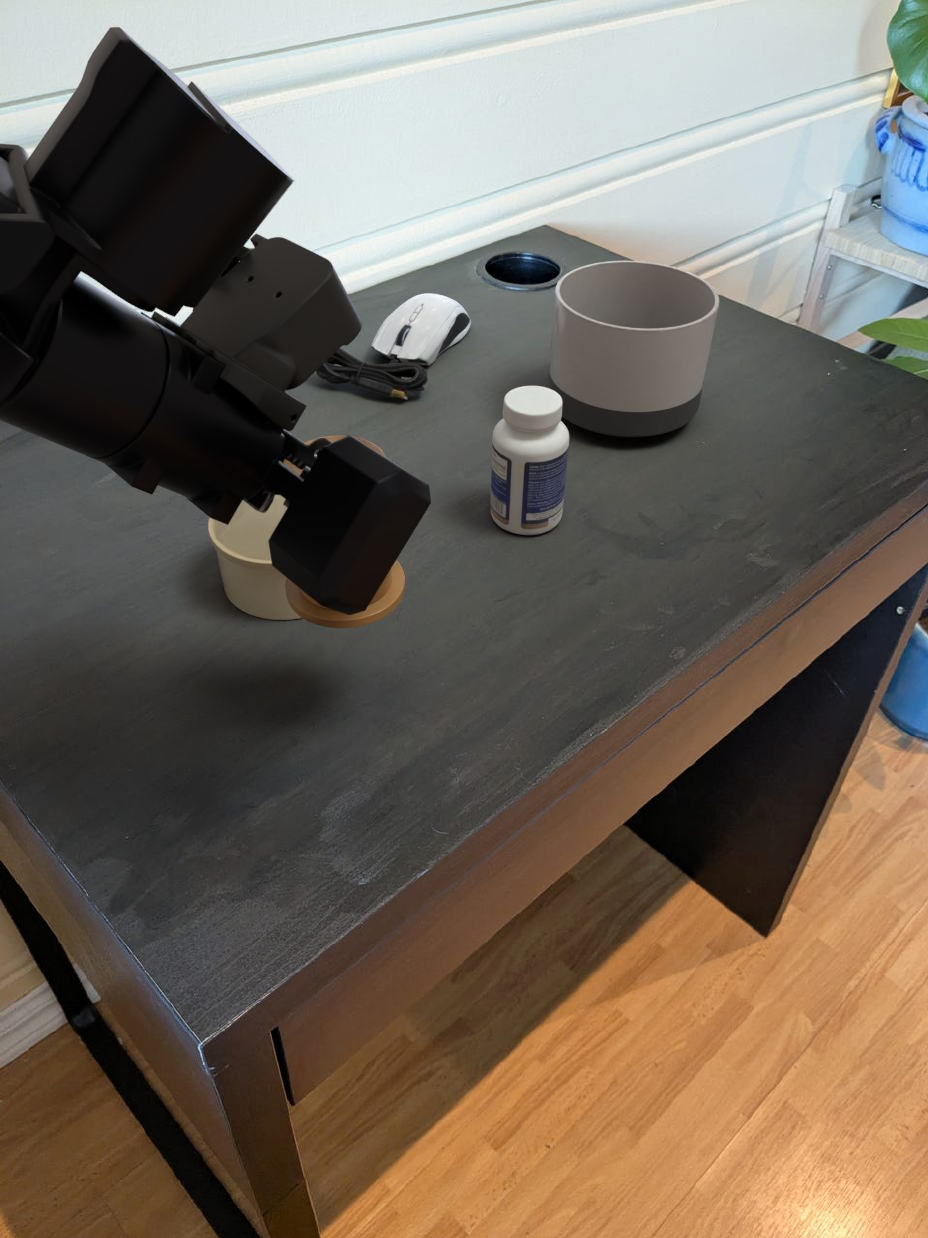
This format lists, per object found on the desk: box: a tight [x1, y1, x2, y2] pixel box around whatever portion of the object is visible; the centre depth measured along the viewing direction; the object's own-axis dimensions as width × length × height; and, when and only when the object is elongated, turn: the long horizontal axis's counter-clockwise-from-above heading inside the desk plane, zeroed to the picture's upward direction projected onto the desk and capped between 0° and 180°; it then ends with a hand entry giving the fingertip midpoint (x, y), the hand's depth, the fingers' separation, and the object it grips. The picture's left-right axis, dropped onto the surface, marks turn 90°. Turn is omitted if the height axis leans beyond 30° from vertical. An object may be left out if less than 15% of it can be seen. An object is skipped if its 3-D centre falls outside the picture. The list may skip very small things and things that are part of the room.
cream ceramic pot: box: [207, 495, 303, 621], centre depth 64 cm, size 9×9×5 cm
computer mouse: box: [315, 292, 472, 401], centre depth 89 cm, size 10×18×4 cm, turn 156°
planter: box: [547, 260, 720, 438], centre depth 79 cm, size 13×13×10 cm
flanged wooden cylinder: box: [283, 435, 406, 629], centre depth 49 cm, size 6×6×8 cm
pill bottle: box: [490, 385, 570, 536], centre depth 68 cm, size 5×5×10 cm
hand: (361, 509), depth 49 cm, fingers closed on flanged wooden cylinder, 5 cm apart
